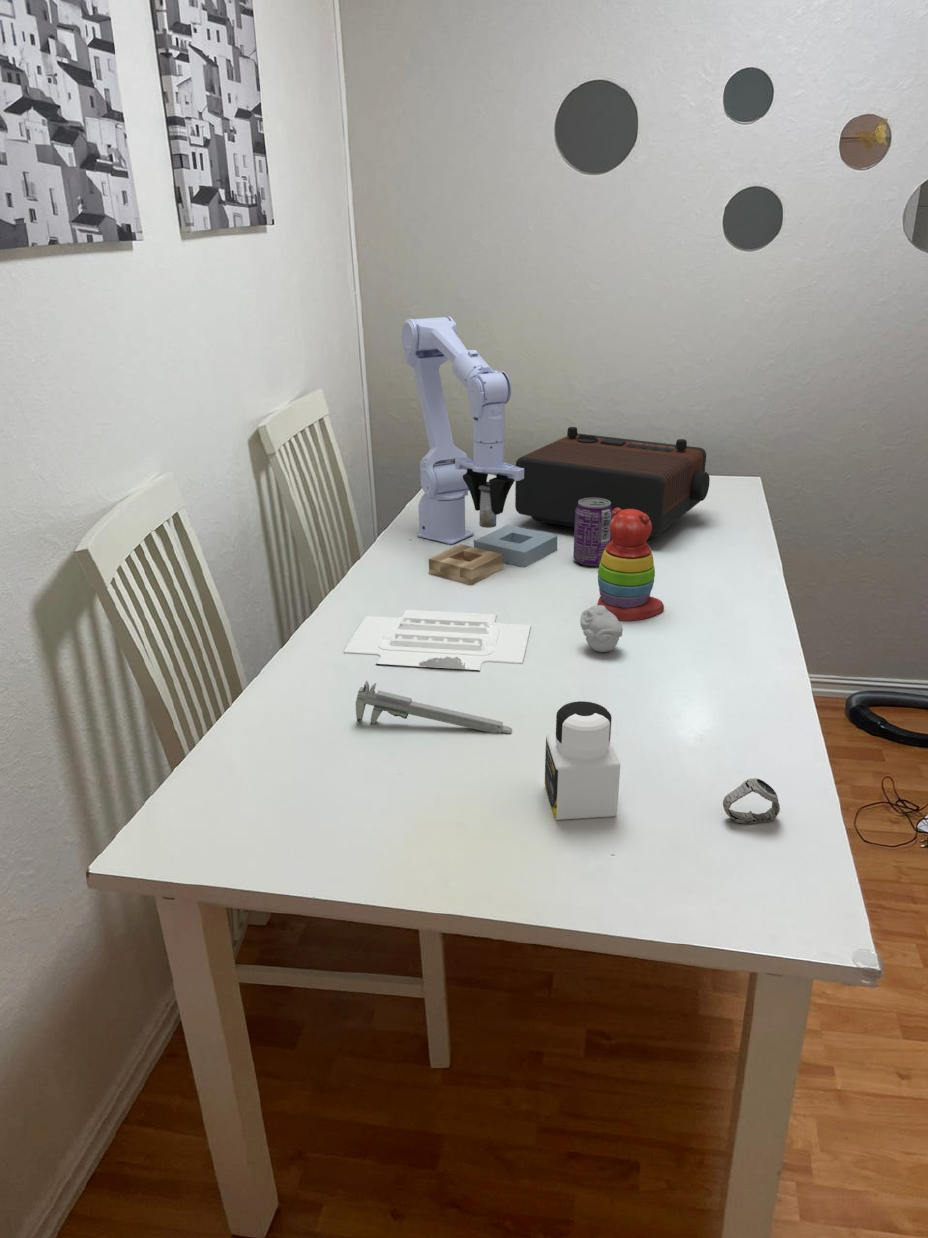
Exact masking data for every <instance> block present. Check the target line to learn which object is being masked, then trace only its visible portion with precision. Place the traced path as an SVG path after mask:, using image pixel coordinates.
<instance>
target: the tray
mask: <svg viewBox="0 0 928 1238" xmlns="http://www.w3.org/2000/svg"><path fill="white" fill-rule="evenodd" d="M497 617H498V616H497V614H495V613H494V614H493V613H476V612H475V613H474V612H473V613H472V612H457V611H436V610H435V611H434V610H418V609H416V610H415V609H405V610H404V613H403V614H402V616H400V617H391V616H389V617H388V616H372V615H371V616H370V615H368V616H367V615H365V617H364V618H363V620H362V622H361V623H360V625H359V626H358V628H357V630H356V631H355V633H354V634H353V636H352V637H351V639H350V641H349V642H348V644H347V645H346V646H345V649H344V651H343V654H348V655H363V656H366V655H367V656H378V657H379V659H378V660H377V662H376V664H375V665H376V666H377V665H378V664H379V665H392V666H405V667H406V666H407V667H408V666H409V667H420V668H421V667H422V668H423V667H425V668H438V669H439V668H441V669H456V670H457V669H458V670H473V671H479V672H481V670H482V666H483V664H486V663H492V664H493V663H494V664H497V663H498V664H511V665H513V664H514V665H523V663H524V658H525V654H526V648H527V645H528V640H529V635H530V631H531V626H532V625H531V624H519V623H518V624H517V623H516V624H515V623H502V622H501V623H498V622H496V621H497ZM482 648H485V650H483V649H482Z"/></svg>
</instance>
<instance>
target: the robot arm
mask: <svg viewBox="0 0 928 1238" xmlns="http://www.w3.org/2000/svg"><path fill="white" fill-rule="evenodd" d="M400 337H401V338H400V339H401V344H402V350H403V355H404V358H405V361H406V365H407V366H408V367H411V368H412V369H413V373H414V378H415V382H416V388H417V391H418V397H419V402H420V406H421V412H422V417H423V422H424V427H425V430H426V431H425V432H426V436H427V441H428V447H429V450H428V452H427V453H426V454H425V455H423V457H422V459H421V460H420V462H419V469H420V470H419V471H420V476H419V477H420V479H419V480H420V486H421V489H422V490H423V492H424V493H423V495H422V496H421V497H420V499H419V502H418V530H419V532H418V533H417V534H416V536H417V537H419V538H424V539H428V540H432V541H435V542H440V543H444V544H449V545H454V544H456V543H459V542H460V541H462V540H464V539H467V538H469V537H471V536H474V534H475V532H474V531H470V530H468V529H467V530H466V496H468V495H469V494H470V495H471V498H472V502H473V506H474V510H475V511H477V512H480V490H479V489H478V483H480V482H489V483H490V486H491V490H492V496H493V513H494V514H495V515H496V516H498V515H500V514H502V513H504V509H505V504H506V501H507V498H508V495H509V492H510V490H511V488H512V487H513V485H514V483H515V482H516V481H519V480H522V479H524V468H519V467H516V465H513V464H510V463H508V462H505V435H506V434H505V429H506V428H505V422H506V421H505V418H506V417H505V415H506V413H505V410H506V408H505V407H506V406H505V405H506V404H508V403H509V401H510V400H511V397H512V386H511V384H512V383H511V380H510V378H509V376H508V374H507V373H506V372H505V371H503V370H493V368H492V367H491V366H490V365H489V364H488V363H487V361H485V359H484V358H483V357H481V355H480V354H479V352H478V351H477V350H476V349H467V348H466V345H464V343H463V342H462V341H461V339H460V337H459V336H458V327H457V322H455V320H454V318H452V317H451V316H449V315H445V316H443V317H427V318H426V317H425V318H415V319H414V318H407V319H405V321H404V323H403V325H402V328H401V336H400ZM447 361H450V362H451V363H452V372H453V375H455V376H456V378H457V379H458V380H459V381H460V383H461V384H462V385H463V386H464V387H465V388H466V395H467V399H468V403H469V410H470V415H471V416H472V418H473V419H472V420H473V421H472V422H473V423H472V424H473V425H472V427H473V430H472V431H473V432H472V433H473V434H472V435H473V438H472V439H473V444H472V445H473V454H472V455H473V458H472V457H468V455H467V453H466V452H465V451H463V450H462V449H460V448H459V447H457V446H456V445H455V444H454V438H453V433H452V429H451V424H450V418H449V414H448V410H447V404H446V399H445V395H444V390H443V389H444V388H443V383H442V379H441V375H440V374H441V373H440V368H441V365H443V364H445V363H446V362H447ZM489 475H492V476H496V477H493V478H490V479H489V480H488V476H489ZM469 492H470V493H469Z"/></svg>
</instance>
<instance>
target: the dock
mask: <svg viewBox="0 0 928 1238" xmlns="http://www.w3.org/2000/svg"><path fill="white" fill-rule="evenodd" d="M473 547H475V548H479V549H484V550H488V551H492V552H496V553H500V554H503V564H504V563H506V564H508V565H514V566H518V567H522V568H526V567H528V566H530V565H532V564H534V563H535V562H538V561H540V560H541V559H543V558H545V557H546V556H549V555H550V554H552V553H554V552H555V551H557V550H558V535H556V534H551V533H548V532H543V531H538V530H534V529H528V528H523V527H520V526H515V525H510V524H507V525H505V526H502V527H500V528H498V529H496V530H494V531H492V532H490V533H487V534H485V535H483V536H481V537H479V538H476V539H474V540H473Z"/></svg>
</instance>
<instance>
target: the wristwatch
mask: <svg viewBox="0 0 928 1238" xmlns="http://www.w3.org/2000/svg"><path fill="white" fill-rule="evenodd" d="M751 793H756V794H758V795H760V796H761V797H762V798H764V799H765V800H767V801H770V802H771V808H770V807H769V809H768V810H767V811H766V812H760V813H755V812H752V811H751V810H750V811H749V812H741V811H735V810H732V809H731V806H732V804H734V803H736V802H738V800H740V799H742V798H744V797H745V796H747V795H748V794H751ZM722 807H723V810H724V812H725V813H726V815H727V816H728V817H729V818H730V820H732V821H733V822H735V823H736V824H741V825H748V826H749V825H756V824H766V823H768V824H769V823H771V822H773V821H774V820H775V819H776V818H777V816H778V815H779V814H780V810H781V809H780V807H781V806H780V803H779V798H778V794H777V792H776V791H775V789H774V788H772V786H771V785H769V783H767V782H765V781H764V780H762V779H761V778H756V777H755V778H748V779H747V780H745V781H743V782H742V783H741V784H740V785H739V786H737V787H736V788H735V789H734V790H732V791H730V792H729V793H727V794H726V796H724V798H723V800H722Z"/></svg>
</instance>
